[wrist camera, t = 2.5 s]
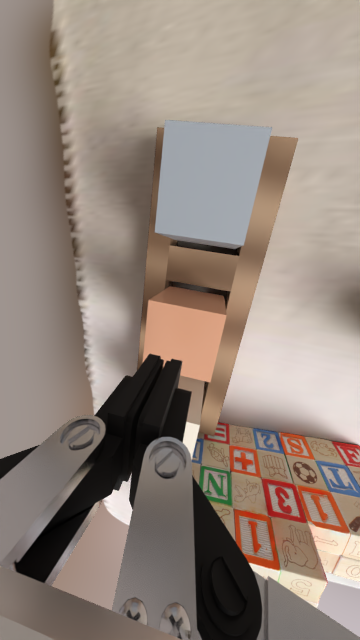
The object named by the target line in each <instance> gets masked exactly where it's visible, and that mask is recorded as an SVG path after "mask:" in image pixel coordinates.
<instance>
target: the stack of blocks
mask: <svg viewBox="0 0 360 640" xmlns="http://www.w3.org/2000/svg"><path fill="white" fill-rule="evenodd" d="M192 475H193V477H194V478H195V480H196V481H197V483H198V485H199V486H200V488H201V489H202V491H203V492H204V494H205V495H206V497H207V498H208V500H209V502H210V503H211V505H212V506H213V508H214V509H215V511H216V512H217V514H218V515H219V517H220V519H221V520H222V522H223V523H224V525H225V526H226V528H227V529H228V531H229V532H230V534H231V536H232V537H233V539H234V540H235V542H236V543H237V545H238V546H239V548H240V550H241V551H242V553H243V554H244V556H245V557H246V559H247V560H248V562H249V564H250V566H251V568H252V570H253V571H255V572H256V573H258V574H259V575H260V576H262V577H263V578H265V579H267V577H268V576H269V577H271V578H272V579H274V580H275V581H277V582H278V583H280V584H281V585H283V586H284V587H286V588H287V589H289V590H290V591H292V592H293V593H295V594H296V595H298V596H299V597H301V598H302V599H304V600H305V601H306V602H308V603H309V604H311V605H312V606H314V607H315V608H317V606H318V604H319V599H320V596H321V594H322V593H323V591H324V589H325V587H326V585H327V583H328V582H327V578H326V575H325V572H328V573H332V574H333V575H336V576H340V577H344V578H347V579H351V580H355V581H359V582H360V446H359V445H353V444H346V443H340V442H333V441H332V442H331V441H330V440H325V439H319V438H313V437H304V436H300V435H294V434H289V433H282V432H278V433H277V432H274V431H267V430H261V429H255V428H253V429H252V428H248V427H241V426H235V425H229V424H225V423H219V422H218V424H217V427H216V431H215V434H214V437H213V436H210V435H206V434H203V433H199V432H198V436H197V440H196V444H195V448H194V452H193V456H192Z"/></svg>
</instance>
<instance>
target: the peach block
mask: <svg viewBox="0 0 360 640" xmlns="http://www.w3.org/2000/svg"><path fill="white" fill-rule="evenodd" d="M226 316H227V314H226V307H225V300H224V296H221V295H216V294H211V293H205V292H200V291H194V290H189V289H183V288H178V287H172V286H170V287H168V288H166V289H165V290H163V291H162V292H160V293H159V294H157V295H156V296H154V297H152V298H151V299H149V300H148V310H147V321H146V332H145V342H144V353H143V362H144V360H145V359H146V358H147V356H148V355H149V354H154V355H159V356H161V359H163V360H164V365H165V363H166V361H171V359H176V360H181V361H182V367H181V373H180V375H181V376H185V377H189V378H193V379H197V380H201V381H206V382H211V378H212V374H213V370H214V366H215V362H216V357H217V353H218V349H219V345H220V341H221V337H222V333H223V329H224V324H225V320H226ZM164 365H163V367H164Z"/></svg>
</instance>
